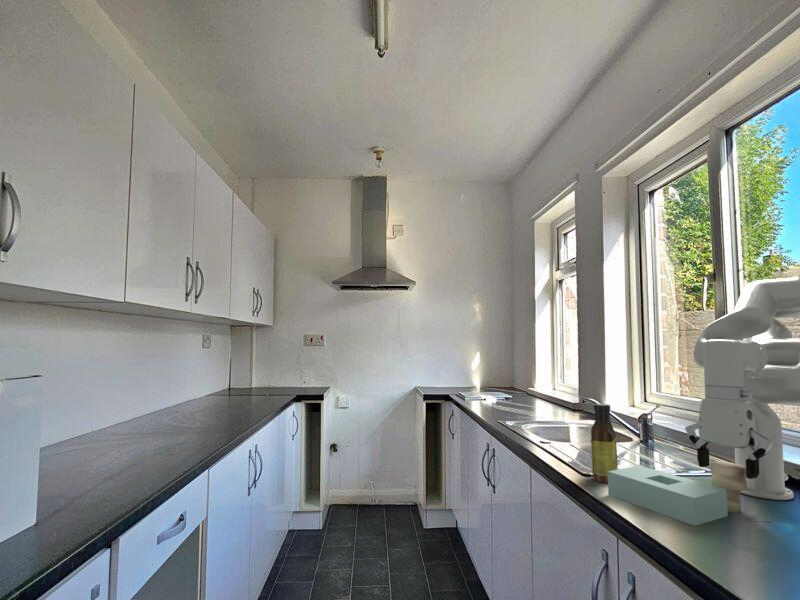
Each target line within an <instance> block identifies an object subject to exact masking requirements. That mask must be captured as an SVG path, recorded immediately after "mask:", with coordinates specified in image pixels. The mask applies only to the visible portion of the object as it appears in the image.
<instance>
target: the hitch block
mask: <svg viewBox="0 0 800 600" xmlns="http://www.w3.org/2000/svg"><path fill="white" fill-rule="evenodd" d="M607 491H608V496H611V497H614V498H616V499H619V500H622V501H623V502H627V503H630V504H633V505H635V506H638V507H641V508H643V509H646V510H650V511H653V512H655V513H657V514H660V515H663V516H665V517H668V516H669V518H671V517H672V518H671V519H674V518H675V519H674V520H677V521H679V520H680V522H682V523H685V524H688V525H690V526H694V527H696V526H699V525H703V524H706V523H710V522H712V521H717V520H719V519H723V518H726V517H728V516H729V515H728V514H729V512H728V511H727V490H726V489H723V488H719V487H716V486H714V485H712V484H708V483H704V482H701V481H697V480H693V479H690V478H686V477H682V476H679V475H676V474H672V473H668V472H665V471H662V470H657V469H655V468H654V469H653V468H649V467H647V466H644V465H643V466H642V465H636V466H629V467H625V468H623V467H622V468H618V470H612V471H608V483H607Z"/></svg>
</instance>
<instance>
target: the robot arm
mask: <svg viewBox="0 0 800 600" xmlns="http://www.w3.org/2000/svg"><path fill="white" fill-rule="evenodd" d="M776 318H777V319H778V318H779V319H780V318H782V319H783V318H784V319H785V318H787V319H788V318H800V277H788V278H776V279H775V278H774V279H773V278H772V279H763V280H762V279H761V280H755V281H752V282H749V283H748V284H747V285H746V286H744V288H743V289H742V291H741V294H740V295H739V297H738V300H737V302H736V304H735V306H734V308H733V310H732V312H729V313H728V314H726V315H723V316H722V317H720V318H718V319H716V320H714V321H713V322H711V323H709V324H708V325H705V327H704V328H703V329H702V330H701V332H700V334H699V335H698V338H697V340H696V342H695V346H694V348H693V359H694V361H695V364H696V365H697V366H698V367H699V368H700V369H703V370H704V371H703V373H704V374H703V376H704V377H703V378H704V380H703V381H704V397H703V398H701V401H700V407H699V414H698V422H695V423H692V424H689V425H687V426H685V427H684V430H685V432H686V434H687V435H688V438H689V441H691V443H692V444H693V446H694V448H695V449H696V452H697V456H696V457H697V462H698V467H699V468H705V467H706V468H707V467H709V466H710V449H709V448H707V447H708V446H709V445H710V444H714V445H718V446H724V447H728V448H734V460H735V462H734V463H735V464H739V465H742V466H744V467H746V479H747V490H745V491H740V494H743V495H747V496H751V497H754V498H760V499H766V500H774V501H775V500H776V501H788V500H792V499H794V492H793V490H791V489H790V488H788V487H786V485H785V484H786V483H785V481H788V479H789V476H788V475H789V474H787V473H786V472H785V463H784V449H783V448H784V446H783V445H784V444H783V429H782V422H781V420H780V418H779V417H780V416H778V414H777V413H776V412H775V411H774V410H773V409H772V408H771V406H770V405H769V404H773V405H774V404H775V405H784V406H792V407H793V406H795V407H800V338H793V333H792V332H791V330H790V329H789V328H788V327H787V326H786V325H785V324H783V323H782V322H781V321H779V320H777V319H776ZM749 338H750V339H749ZM748 339H749V340H748ZM697 430H698V435H697V434H696V431H697Z"/></svg>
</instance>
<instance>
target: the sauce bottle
mask: <svg viewBox="0 0 800 600" xmlns="http://www.w3.org/2000/svg"><path fill="white" fill-rule="evenodd" d="M593 410H594V424H592V426H591V428H590V429H591V430H590V435H591V436H590V449H591V451H590V453H591V469H592V472H591V473H592V477H593V478H592V479H594V481H596V482H598V483H602V484H608V471H612V470H618V469H619V468H618V467H619V466H618V448H617V435H616V432H615V430H614V427H613V423H612V422H611V414H610V413H611V405H610V404H605V403H594V404H593Z"/></svg>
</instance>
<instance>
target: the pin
mask: <svg viewBox="0 0 800 600" xmlns="http://www.w3.org/2000/svg"><path fill="white" fill-rule="evenodd" d="M710 477H711V478H710V479H711V485H712V486H716V487H719V488H723V489H726V490H727V513H742V502H741V497H742V496H741V493H740V491H745V490H747V479H746V467H744V466H742V465H739V464H735V462H727V461H719V460H718V461H710Z"/></svg>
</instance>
